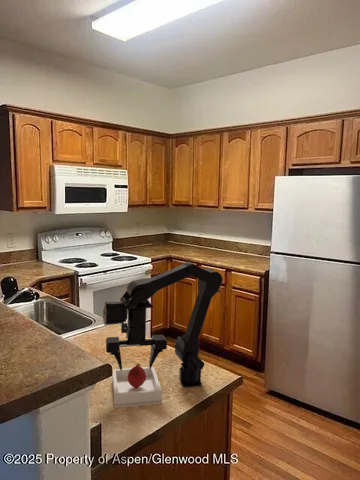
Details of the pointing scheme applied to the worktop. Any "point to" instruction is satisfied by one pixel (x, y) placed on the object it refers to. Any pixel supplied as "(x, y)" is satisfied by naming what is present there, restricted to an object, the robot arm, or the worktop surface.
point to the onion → (136, 376)
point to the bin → (136, 389)
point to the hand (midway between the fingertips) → (135, 369)
